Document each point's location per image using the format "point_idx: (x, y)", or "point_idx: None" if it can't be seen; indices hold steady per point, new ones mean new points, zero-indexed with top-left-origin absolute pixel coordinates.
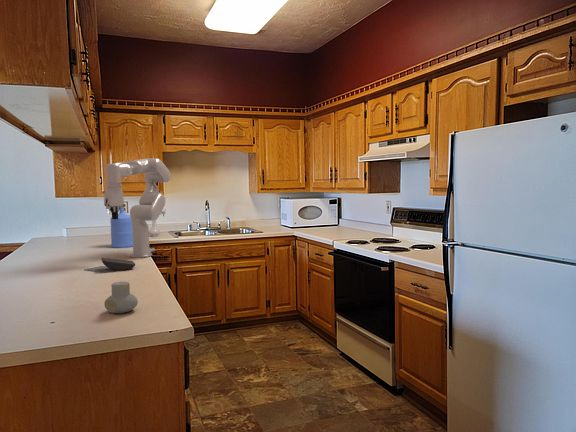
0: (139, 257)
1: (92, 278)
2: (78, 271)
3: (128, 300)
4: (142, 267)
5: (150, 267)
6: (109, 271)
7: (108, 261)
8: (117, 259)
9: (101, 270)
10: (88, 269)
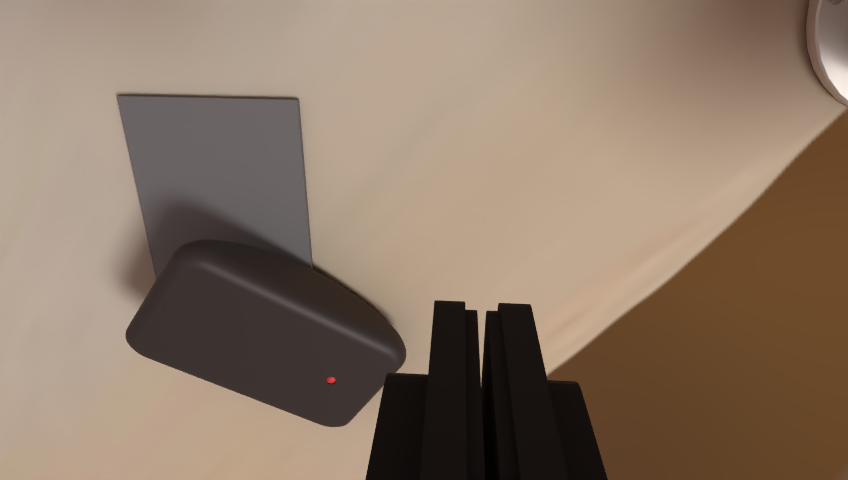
0: (813, 68)
1: (34, 368)
2: (68, 94)
3: None
4: None
5: None
6: None
7: (162, 363)
8: (290, 320)
9: None
10: (139, 132)
